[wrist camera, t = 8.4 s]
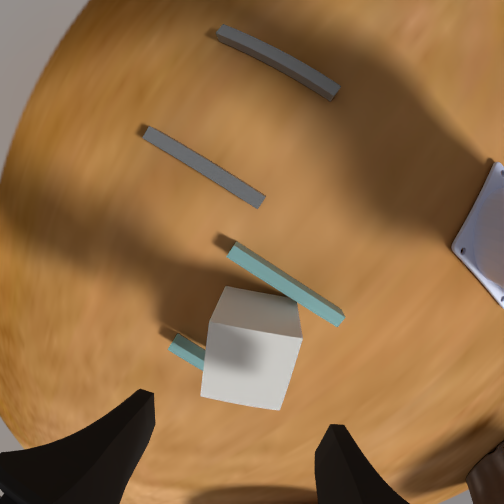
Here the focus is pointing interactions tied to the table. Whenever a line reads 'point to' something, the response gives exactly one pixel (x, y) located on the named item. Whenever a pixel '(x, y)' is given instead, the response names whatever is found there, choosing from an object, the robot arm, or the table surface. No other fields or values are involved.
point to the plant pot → (488, 478)
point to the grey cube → (251, 348)
